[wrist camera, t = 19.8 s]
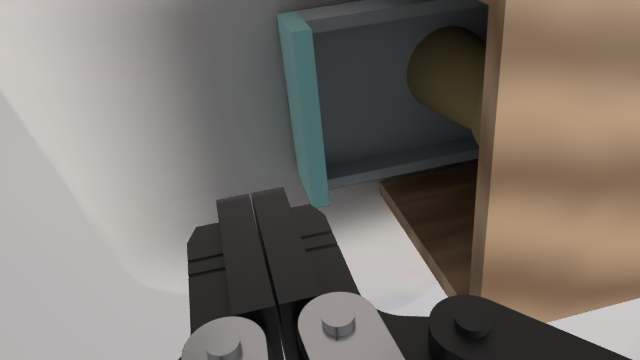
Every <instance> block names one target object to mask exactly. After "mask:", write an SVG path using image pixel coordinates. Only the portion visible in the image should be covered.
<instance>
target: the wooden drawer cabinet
mask: <svg viewBox="0 0 640 360" xmlns="http://www.w3.org/2000/svg"><path fill="white" fill-rule="evenodd" d="M478 1H481V2H483V3H486V4H488V5H489V13H488V27H487V42H486V56H485V71H484V85H483V100H482V114H481V129H480V143H479V158H478V162H474V163H469V164H464V165H460V166H455V167H450V168H445V169H440V170H436V171H431V172H426V173H421V174H417V175H412V176H407V177H402V178H398V179H393V180H388V181H383V182H380V189H381V196H382V197H383V199H384V200H385V202H386V203H387V205H388V206H389V208H390V209H391V211H392V213H393V214H394V216H395V217H396V219H397V220H398V222H399V223H400V225H401V226H402V228H403V229H404V231H405V232H406V234H407V235H408V237H409V238H410V240H411V241H412V243H413V244H414V246H415V248H416V249H417V251H418V252H419V254H420V255H421V257H422V258H423V260H424V261H425V263H426V264H427V266H428V267H429V269H430V270H431V272H432V273H433V275H434V276H435V278H436V279H437V281H438V282H439V284H440V286H441V287H442V289H443V290H444V292H445V293H446V295H447V296H448V297H451V296H456V295H475V296H480V297H483V298H486V299H489V300H491V301H494V302H496V303H499V304H501V305H503V306H506V307H508V308H510V309H513V310H515V311H518V312H520V313H522V314H525V315H527V316H529V317H532V318H534V319H537V320H539V321H541V322H544V323H547V322H551V321H555V320H558V319H562V318H566V317H570V316H573V315H577V314H581V313H585V312H588V311H592V310H596V309H599V308H603V307H607V306H611V305H615V304H618V303H622V302H626V301H630V300H633V299H637V298H640V0H478Z"/></svg>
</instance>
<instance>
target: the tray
mask: <svg viewBox="0 0 640 360" xmlns="http://www.w3.org/2000/svg"><path fill="white" fill-rule="evenodd" d="M488 13H489V5H488V4H486V3H483V2H481V1H478V0H363V1H357V2H350V3H343V4H337V5H330V6H324V7H317V8H311V9H304V10H298V11H291V12H285V13H278V14H277V21H278V28H279V36H280V43H281V50H282V58H283V65H284V73H285V80H286V87H287V95H288V102H289V109H290V117H291V124H292V132H293V139H294V146H295V154H296V161H297V169H298V175H299V177H300V180H301V182H302V184H303V187H304V189H305V192H306V194H307V196H308V199H309V201H310V204H311V205H312V206H313V207H315V208H320V207H325V206H329V205H330V202H329V192H328V190H329V189H334V188H339V187H344V186H348V185H353V184H358V183H363V182H367V181H372V180H377V179H382V178H387V177H391V176H396V175H401V174H406V173H410V172H415V171H420V170H425V169H430V168H434V167H439V166H444V165H449V164H454V163H458V162H463V161H468V160H473V159H477V158H479V145H478V144H477V142H476V140H475V138H474V136H473V133H472V130H470V129H468V128H466V127H464V126H462V125H460V124H458V123H457V122H455V121H453V120H451V119H449V118H447V117H445V116H443V115H441V114H439V113H438V112H436V111H434V110H432V109H430V108H428V107H426V106H424V105H422V104H420V103H419V102H418V101H417V100H416V99H415V98H414V97H413V96H412V95H411V92H410V90H409V87H408V85H407V67H408V63H409V59H410V57H411V55H412V53H413V51H414V50H415V48H416V46H417V45H418V44H419V43H420V42H421V41H422V40H423V39H424V38H425V37H426V36H427V35H428V34H430V33H432V32H434V31H436V30H438V29H439V28H443V27H449V26H458V27H464V28H467V29H468V30H470V31H472V32H473V33H475V34H476V35H477V36H478V37H479V38H481V39H482V40H483V41H484V42H485V43H486V42H487V27H488Z"/></svg>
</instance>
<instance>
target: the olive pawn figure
mask: <svg viewBox="0 0 640 360" xmlns="http://www.w3.org/2000/svg"><path fill="white" fill-rule="evenodd" d="M485 56H486V43H485V42H484V41H483V40H482V39H481V38H479V37H478V36H477V35H476V34H475V33H473V32H472V31H470V30H468V29H467V28H464V27H458V26H449V27H443V28H439V29H438V30H436V31H434V32H432V33H430V34H428V35H427V36H426V37H425V38H424V39H423V40H422V41H421V42H420V43H419V44H418V45H417V46H416V48H415V50H414V51H413V53H412V55H411V57H410V59H409V63H408V67H407V85H408V87H409V90H410V92H411V95H412V96H413V97H414V98H415V99H416V100H417V101H418V102H419V103H420V104H422V105H424V106H426V107H428V108H430V109H432V110H434V111H436V112H438V113H439V114H441V115H443V116H445V117H447V118H449V119H451V120H453V121H455V122H457V123H458V124H460V125H462V126H464V127H466V128H468V129H470V130H472V133H473V136H474V138H475V140H476V142H477V144H478V145H479V143H480V129H481V114H482V100H483V85H484V71H485Z"/></svg>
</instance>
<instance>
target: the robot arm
mask: <svg viewBox="0 0 640 360" xmlns="http://www.w3.org/2000/svg"><path fill="white" fill-rule="evenodd" d="M251 196H252V203H253V208H254V214H255V219H254V215H253V211H252V206H251V202H250V198H249V194H245V195H240V196H235V197H230V198H225V199H220V200H216V203H217V210H218V218H219V223H214V224H209V225H205V226H200V227H196V228H195V230H194V232H193V234H192V236H191V238H190V239H189V241H188V243H187V254H188V275H189V299H190V300H189V301H190V325H191V335H190V337H189V339H188V340H187V342H186V343H185V345H184V348H183V350H182V355H181V357H180V358H179V360H284V356H283V351H284V355H285V359H286V360H632V359H629V358H627V357H624V356H622V355H620V354H617V353H615V352H613V351H610V350H608V349H605V348H603V347H601V346H598V345H596V344H594V343H591V342H589V341H586V340H584V339H582V338H579V337H577V336H574V335H572V334H570V333H567V332H565V331H563V330H560V329H558V328H555V327H553V326H551V325H548V324H546V323H544V322H541V321H539V320H537V319H534V318H532V317H529V316H527V315H525V314H522V313H520V312H518V311H515V310H513V309H510V308H508V307H506V306H503V305H501V304H499V303H496V302H494V301H491V300H489V299H486V298H483V297H480V296H475V295H456V296H451V297H448V298H446V299H444V300H442V301H440V302H439V303H437V305H436V306H435V307H434V308H433V309H432V311H431V313H430V316H429V317H417V316H397V315H392V314H388V313H384V312H382V311H380V310H378V309H375V307H374V306H373V305H372V304H371V303H370V302H369V301H368V300H367V299H365V298H364V297H362V296H361V295H360V293H359V291H358V289H357V287H356V284H355V282H354V280H353V278H352V275H351V273H350V271H349V268H348V266H347V264H346V262H345V259H344V257H343V255H342V253H341V250H340V248H339V246H338V245H337V241H336V239H335V237H334V235H333V233H332V230H331V228H330V226H329V223H328V221H327V219H326V216H325V215H324V214H323V213H321V212H320V211H319V210H317V209H316V208H315V207H313V206H312V205H311V204H308V205H303V206H298V207H293V208H290V205H289V202H288V199H287V197H286V194H285V191H284V188H283V187H281V188H276V189H271V190H265V191H260V192H255V193H251ZM255 220H256V223H255ZM256 226H257V227H256ZM257 231H258V232H257ZM281 342H282V344H281ZM282 347H283V350H282Z"/></svg>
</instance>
